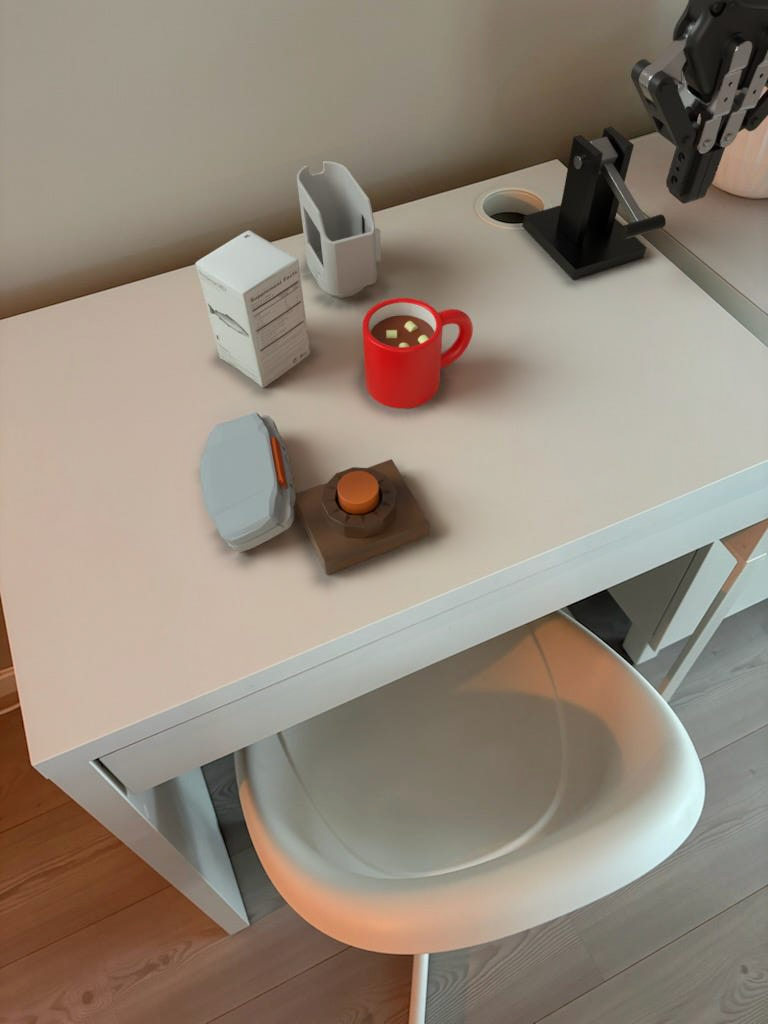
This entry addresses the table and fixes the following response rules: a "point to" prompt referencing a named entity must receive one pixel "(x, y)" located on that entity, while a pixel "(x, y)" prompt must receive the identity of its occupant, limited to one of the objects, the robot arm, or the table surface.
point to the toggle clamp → (587, 214)
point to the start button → (358, 492)
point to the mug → (409, 350)
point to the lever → (624, 194)
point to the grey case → (247, 481)
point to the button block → (360, 519)
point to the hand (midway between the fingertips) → (685, 195)
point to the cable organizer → (338, 230)
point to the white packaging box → (255, 306)
